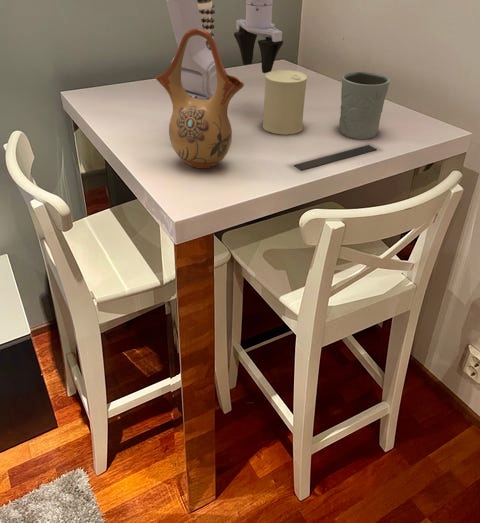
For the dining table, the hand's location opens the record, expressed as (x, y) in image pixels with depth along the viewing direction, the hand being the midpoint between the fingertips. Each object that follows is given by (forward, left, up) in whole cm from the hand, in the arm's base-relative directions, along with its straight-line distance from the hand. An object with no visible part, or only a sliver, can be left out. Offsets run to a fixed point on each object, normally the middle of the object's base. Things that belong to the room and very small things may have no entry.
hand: (256, 68), depth 120 cm
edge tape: (-23, -20, -10) cm, 32 cm away
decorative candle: (+20, +19, -11) cm, 30 cm away
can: (-9, -7, -11) cm, 16 cm away
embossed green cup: (-8, -24, -11) cm, 28 cm away
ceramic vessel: (-32, +7, -11) cm, 34 cm away
